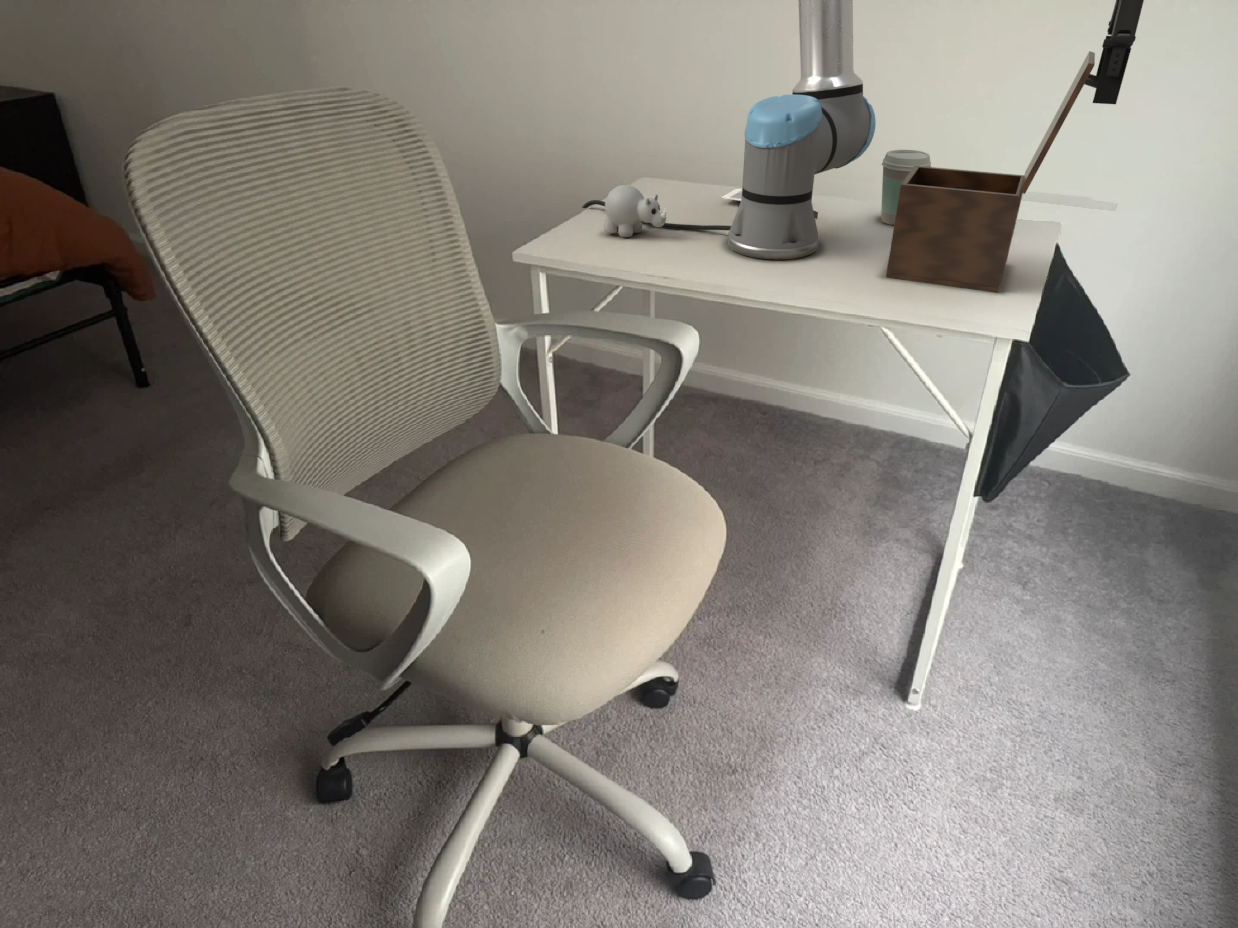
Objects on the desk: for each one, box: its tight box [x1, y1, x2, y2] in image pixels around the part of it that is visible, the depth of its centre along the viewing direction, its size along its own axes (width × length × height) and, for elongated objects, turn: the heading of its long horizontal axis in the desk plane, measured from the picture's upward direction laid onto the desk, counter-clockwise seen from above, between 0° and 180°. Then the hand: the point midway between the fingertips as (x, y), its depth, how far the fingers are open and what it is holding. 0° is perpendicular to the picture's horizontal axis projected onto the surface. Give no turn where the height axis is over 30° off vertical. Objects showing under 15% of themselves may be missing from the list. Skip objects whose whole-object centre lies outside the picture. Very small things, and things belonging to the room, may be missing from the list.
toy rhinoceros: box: [603, 184, 668, 238], centre depth 151 cm, size 7×12×8 cm, turn 57°
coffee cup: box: [880, 149, 932, 226], centre depth 156 cm, size 8×8×12 cm
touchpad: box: [720, 188, 742, 202], centre depth 169 cm, size 8×15×2 cm, turn 59°
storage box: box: [885, 166, 1025, 293], centre depth 132 cm, size 17×13×14 cm
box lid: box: [1020, 50, 1099, 195], centre depth 120 cm, size 17×13×5 cm
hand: (1103, 95), depth 116 cm, fingers open, 13 cm apart
